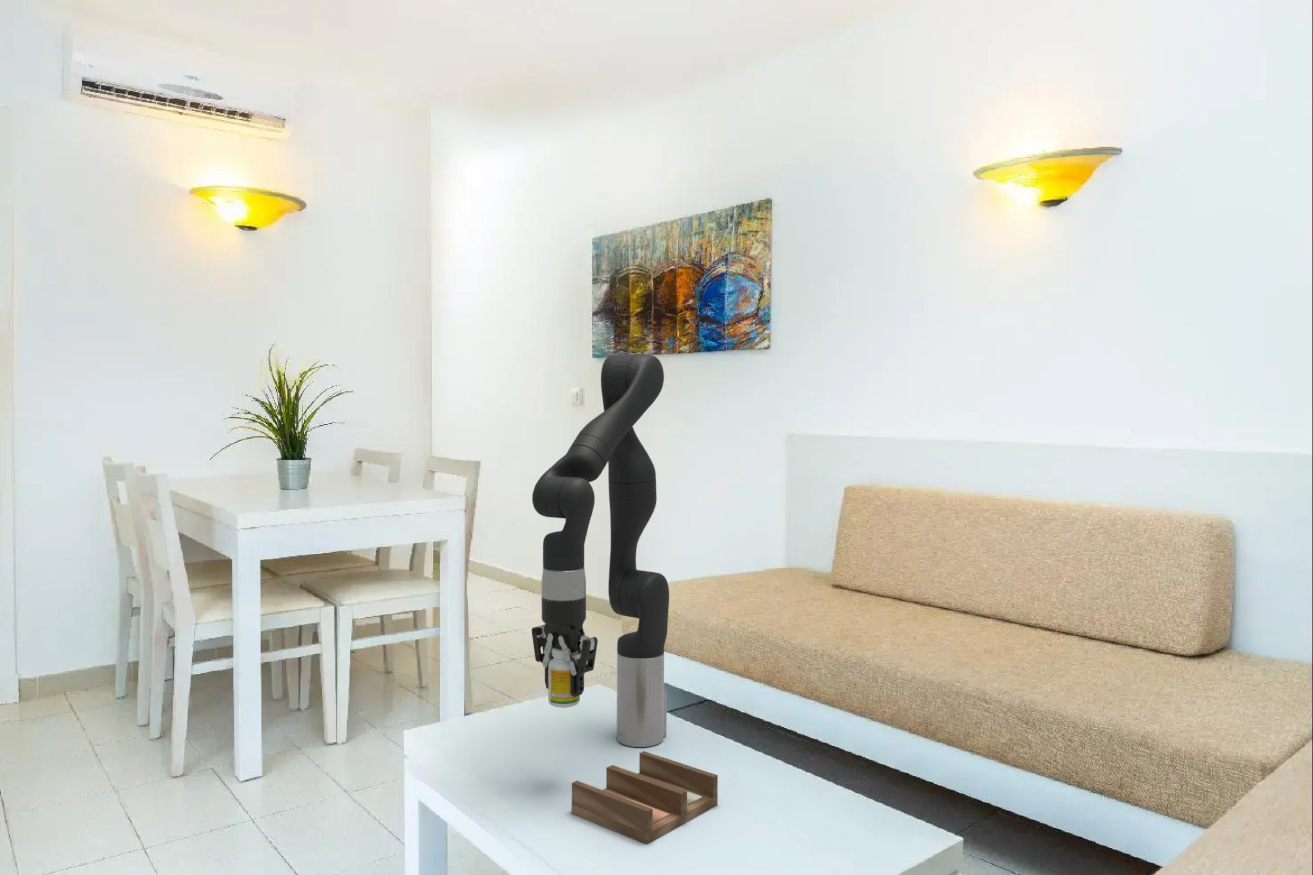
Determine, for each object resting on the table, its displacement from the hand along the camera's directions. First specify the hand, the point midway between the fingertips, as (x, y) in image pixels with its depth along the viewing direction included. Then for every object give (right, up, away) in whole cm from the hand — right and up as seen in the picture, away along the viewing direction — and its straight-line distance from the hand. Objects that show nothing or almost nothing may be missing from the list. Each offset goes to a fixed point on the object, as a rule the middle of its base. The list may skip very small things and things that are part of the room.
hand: (564, 691), depth 161 cm
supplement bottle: (0, -2, 0) cm, 2 cm away
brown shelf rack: (+14, -17, -7) cm, 23 cm away
